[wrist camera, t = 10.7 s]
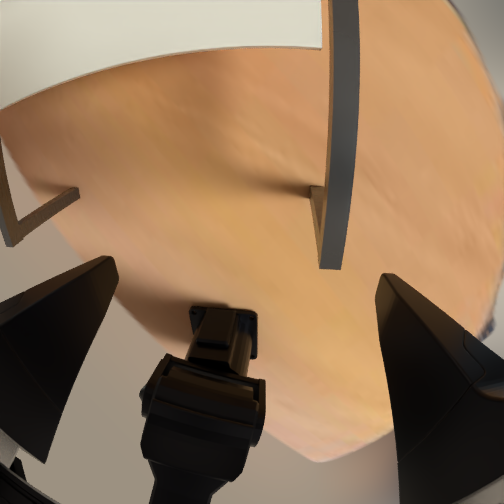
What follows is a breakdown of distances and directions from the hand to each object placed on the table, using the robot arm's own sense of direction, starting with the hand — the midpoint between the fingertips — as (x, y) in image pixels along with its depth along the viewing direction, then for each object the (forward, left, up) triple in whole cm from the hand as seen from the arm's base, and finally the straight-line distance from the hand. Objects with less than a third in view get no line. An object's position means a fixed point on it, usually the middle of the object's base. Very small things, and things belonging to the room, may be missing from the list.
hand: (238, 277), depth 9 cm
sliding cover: (+12, +7, -5) cm, 15 cm away
